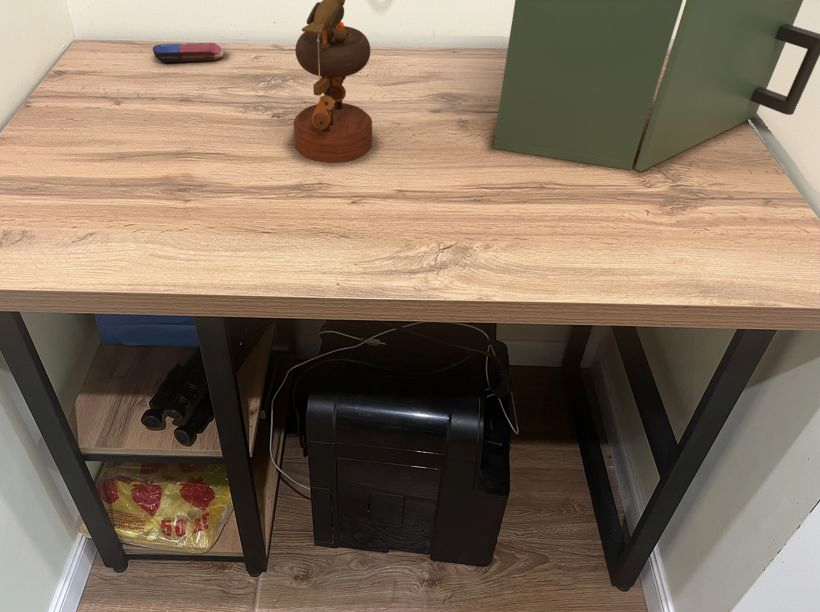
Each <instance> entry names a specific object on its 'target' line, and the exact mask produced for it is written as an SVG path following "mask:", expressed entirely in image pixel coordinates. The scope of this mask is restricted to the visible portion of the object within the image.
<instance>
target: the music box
mask: <svg viewBox="0 0 820 612" xmlns="http://www.w3.org/2000/svg"><path fill="white" fill-rule="evenodd" d="M345 3H346V0H321V1H318V2H316V3H315V4H314V6H313V8H312V9H311V11H310V13H309V15H308V17H307V19H306V24H307V25H305V26H304V27H302V28H301V31H302V34H301V35H299V37H298V39H297V41H296V44H295V49H294V50H295V57H296V60H297V62H298V64H299V66H300V67H301V68H302V69H303V70H304V71H306V72H307V73H309V74H311V75H313V76H317V77H318V79H317V81H316V82H315V83H314V84H312V85H313V87H312V88H313V89H312V90H313V95H314V96H317V97H318V96H319V100H318V103H316V104H312V105H310V106H307V107H305V108H304V109H302V110H301V111H300V112H299V113H298V114H297V115H295V118H294V119H293V137H294V147H295V149H296V151H297V152H298V154H300V155H301V156H303V157H304V158H307V159H309V160H313V161H316V162H321V163H345V162H350V161H353V160H357V159H360V158H361V157H363V156H365V155H366V154H367V153H368V152H369V151H370V150H371V149H372V143H373V120H372V119H373V118H372V117H371V116H370V115H369V114H368V113H367V112H366V111H365V110H364V109H362V108H361V107H359V106H356V105H354V104H350V103H345V102H343V100H344V99H345V98H346V95H347V91H346V90H347V89H346V88H345V86H344V85H343V83H344V81H345V80H346V78H347V77H349V76H353V75H355V74H357V73H359V72H360V71H362V70H363V69H364V68H365V67H366V66H367V64H368V62H369V60H370V57H371V45H370V41H369V38H367V36H366V35H365V34H364V33H363V32H362V30H361V31H360V30H359V29H357V28H355V27H351V26H347V25H345V24H344V23H343V21H342V20H343V19H344V16H345V8H344V6H345Z"/></svg>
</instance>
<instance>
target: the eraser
mask: <svg viewBox="0 0 820 612" xmlns="http://www.w3.org/2000/svg"><path fill="white" fill-rule="evenodd" d="M152 52H153V54H154V57H155V58H156V59H157V60H158V61H160V62H161V63H190V62H191V63H193V62H194V63H195V62H215V61H218V60H221V59H223V58H224V57H225V56H224V55H225V54H224V50H223V48H222V47H221V46H220V45H218V44H217V43H215V42H199V43H198V42H197V43H195V42H194V43H191V42H189V43H160V44H156V45H154V46H153V47H152Z"/></svg>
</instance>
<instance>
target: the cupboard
mask: <svg viewBox="0 0 820 612" xmlns="http://www.w3.org/2000/svg"><path fill="white" fill-rule="evenodd" d="M683 1H684V0H514V6H513V12H512V19H511V25H510V33H509V39H508V46H507V52H506V59H505V64H504V65H505V66H504V71H503V78H502V84H501V85H502V86H501V91H500V99H499V104H498V111H497V118H496V125H495V131H494V138H493V144H492V149H493V150H501V151H507V152H513V153H519V154H525V155H532V156H537V157H545V158H551V159H557V160H562V161H570V162H577V163H581V164H582V163H583V164H588V165H595V166H600V167H606V168H613V169H620V170H626V171H632V169H633V165H634V162H635V159H636V156H637V152H638V149H639V146H640V142H641V139H642V136H643V132H644V129H645V126H646V123H647V119H648V116H649V114H650V110H651V106H652V103H653V100H654V96H655V93H656V91H657V87H658V84H659V80H660V77H661V74H662V71H663V67H664V65H665V60H666V57H667V53H668V51H669V47H670V44H671V40H672V37H673V34H674V31H675V28H676V25H677V21H678V18H679V14H680V11H681V8H682V4H683Z"/></svg>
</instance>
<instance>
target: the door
mask: <svg viewBox="0 0 820 612" xmlns="http://www.w3.org/2000/svg"><path fill="white" fill-rule="evenodd" d="M803 2H804V0H685V3H684V7H683V10H682V13H681V16H680V20H679V23H678V27H677V29H676V33H675V36H674V40H673V43H672V46H671V50H670V52H669V55H668V59H667V62H666V65H665V69H664V72H663V74H662V78H661V81H660V85H659V88H658V92H657V94H656V99H655V101H654V104H653V108H652V110H651V114H650V117H649V120H648V124H647V126H646V130H645V133H644V137H643V139H642V143H641V146H640V150H639V152H638V156H637V159H636V163H635V166H634V170H636V171H638V172H640V173H641V172H643V171H645V170H647V169H649V168H652V167H654V166H656V165H658V164H660V163H662V162H664V161H666V160H668V159H670V158H672V157H675V156H677V155H678V154H681V153H683V152H685V151H687V150H690V149H691V148H693V147H696V146H697V145H699V144H701V143H704V142H705V141H707V140H710V139H712V138H714V137H716V136H719V135H720V134H722V133H724V132H726V131H729V130H730V129H733V128H734V127H737V126H739V125H741V124H743V123H745V122H747V121H749V120H751V119H754V118H755V117H756V116H757V113H758V110H759V108H760V106H761V107H765V108H767V109H770V110H773V111H775V112H778V113H781V114H783V115H787V116H792V115H794V113H795V112H796V109H797V107H796V106H798V105H797V104H799V103H800V100H801V98H802V95H803V94H802V93H804V91H805V90H806V87H807V85H808V82H809V80H810V78H811V76H812V73H813V71H814V69H815V67H816V65H817V62H818V61H819V59H820V33H818V32H815V31H811V30H808V29H806V28H803V27H798V26H795V25H794V23H795V21H796V19H797V17H798V14H799V11H800V9H801V8H802V4H803ZM786 44H790V45H793V46H796V47H799V48H803V49H806V52H805V54H804V56H803V59H802V61H801V63H800V65H799V68H798V70H797V72H796V74H795V77H794V79H793V81H792V84H791V86H790V89H789V91H788V93H787V95H784V94H781V93H779V92H776V91H774V90H770V89H768V87H769V85H770V82H771V80H772V77H773V74H774V72H775V69H776V67H777V65H778V62H779V60H780V57H781V56H782V53H783V50H784V48H785V46H786Z"/></svg>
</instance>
